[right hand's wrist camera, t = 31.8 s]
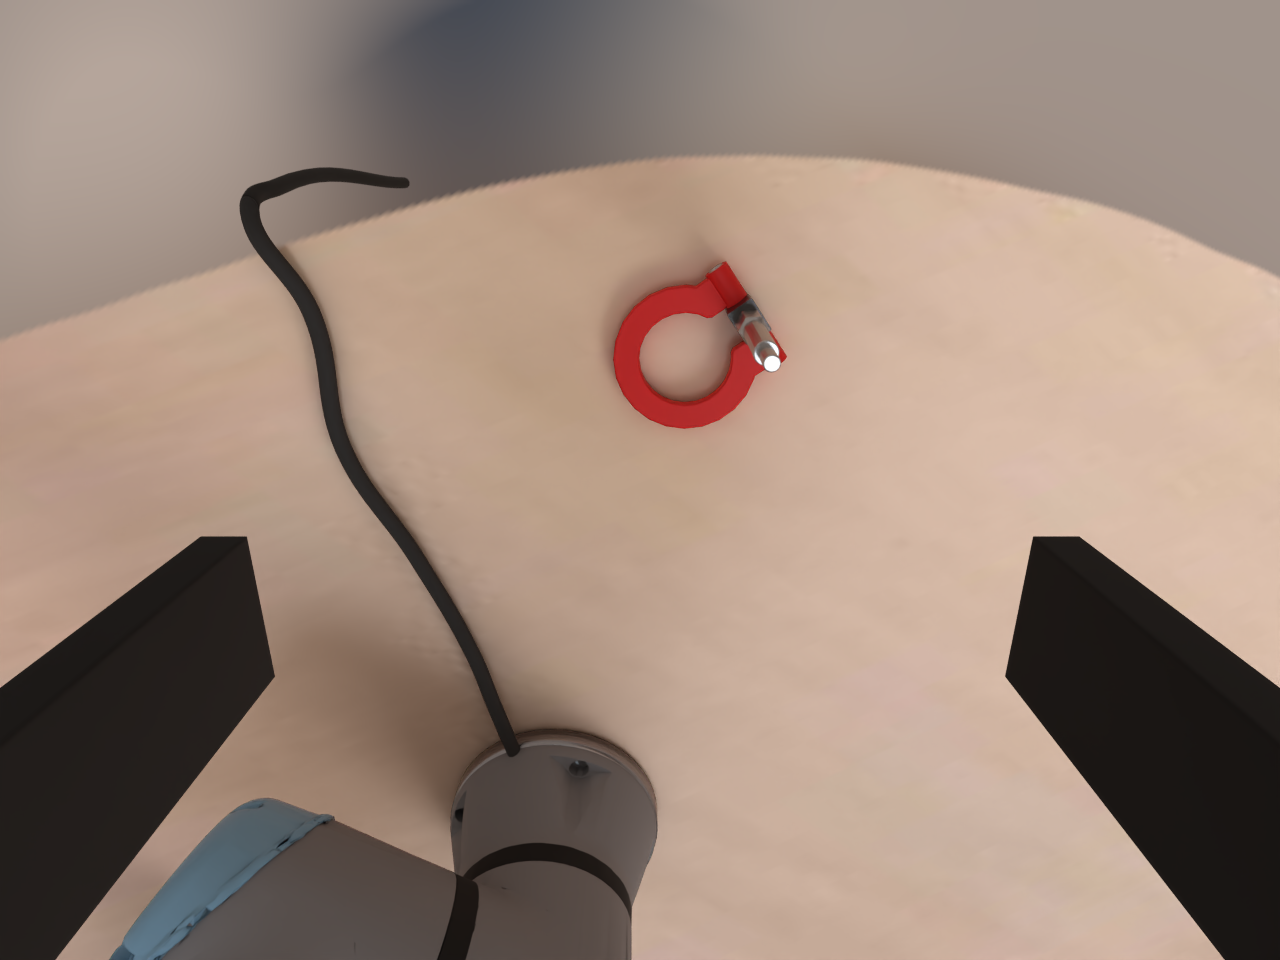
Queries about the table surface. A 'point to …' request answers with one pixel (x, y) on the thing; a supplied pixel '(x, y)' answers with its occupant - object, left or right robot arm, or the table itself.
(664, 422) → the tow hook
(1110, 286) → the table surface
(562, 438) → the table surface
